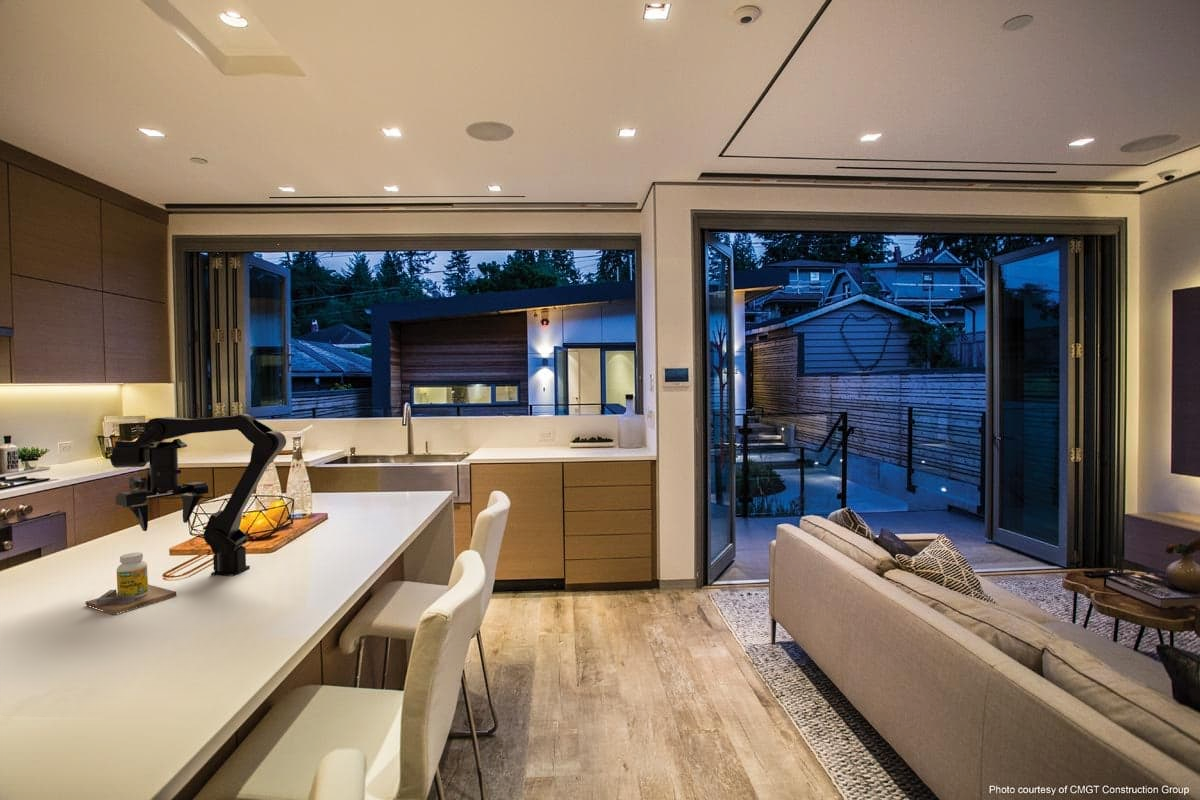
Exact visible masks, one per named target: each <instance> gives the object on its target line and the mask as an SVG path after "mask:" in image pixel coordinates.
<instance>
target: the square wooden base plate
mask: <svg viewBox="0 0 1200 800" xmlns="http://www.w3.org/2000/svg"><path fill="white" fill-rule="evenodd" d="M174 596H175V597H177V591H175V590H170V589H167V588H163V587H159V586H155V585H151V584H148V593H147V594H146V595H145V596H143V597H140V598H136V599H135V594H134V595H125V596H118V591H117V589H110V590H108V591H107V592H105V593H104V594H103V595H101V596H99V597H98V598H95V599H90V600H87V601H85V606H86V605H87V606H91V607H94V608H97V609H100V610H103V611H105V612H104V613H106V612H109V613H112V614H116V615H118V614H117V613H119V614H121V613H120V612H123V611H126V612H128V611H127V610H129V611H131V610H130V609H132V610H134V609H133V608H136V607H139V608H141V607H140V606H142V607H145V606H148V605H147V604H149V605H151V604H150V603H152V604H155V603H158V602H161V600H162V601H164V600H168V599H172V598H174ZM171 597H172V598H171ZM154 602H155V603H154ZM144 605H145V606H144ZM87 606H86V607H87ZM136 609H137V608H136ZM100 610H99V611H100ZM103 611H102V612H103ZM109 613H108V614H109ZM123 613H124V612H123ZM112 614H111V615H112Z"/></svg>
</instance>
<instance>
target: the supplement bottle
mask: <svg viewBox="0 0 1200 800" xmlns="http://www.w3.org/2000/svg"><path fill="white" fill-rule="evenodd" d="M143 558H144V554H143V552H140V551H139V552H130V553H126V554H125V553H124V554H123V555H120V557H119V562H120V563H121V564H120V565H119V566H117V568H116V585H117V586H116V587H117V588H116V592H117V593H118V596H125V595H134V594H135V599H136V598H140V597H143V596H145V595H146V594H147V593H148V585H149V579H148V578H149V577H148V563H147V562H145V561H143Z"/></svg>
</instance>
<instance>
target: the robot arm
mask: <svg viewBox="0 0 1200 800" xmlns="http://www.w3.org/2000/svg"><path fill="white" fill-rule="evenodd" d="M233 430H234V431H235V430H236V431H238V432H241V434H242V435H243V436H244V437H245V438H246V439H247V440H248V441H249V442H250V443H252V445H253V446H252V449H251V452H250V461H249V463H248V464H247V466H246V468H245V469H244V472H243V473H242V475H241V478H240V479H239V481H238V482H237V484H236V486H235V488H234V490H233V492H232V493H231V495H230V497H229V499H228V500H227V503H226V504H225V506H224V508H223V510H218V511H216V512H214V513H212V514H211V515H210V516H209V518H208V521H207V524H206V525H205V526H204V527H202V530H203V531H204V532H203V535H202V537H203V539H204V542H205V543H206V544H207V545H209V547H210V549H211V551H212V554H214V555H212V556H213V557H212V558H213V571H212V572H210V575H211V576H235V575H239V574H240V573H241V572H244V571H246V570H248V569H250V568H251V566H250V565H247V555H246V554H247V553H246V550H247V549H246V546H243V545H245V544H246V543H247V541H248V538H249V535H247V534H246V533H245V532H244V531H243V530H241V529H240V526H241V523H242V517H243V512H244V510H245V509H246V506H247V504H248V503H249V500H250V499H251V497H252V495H253V494H254V491H255V490H256V488H257V486H258V484H259V482H260V481H261V479H262V477H263V475H264V474H265V472H266V470H267V468H268V466H269V465H270V464H271V463H272V462H273V461H274V460H275V459H276V458H277V457H278V456H279V454H281V452H282V451H283V449H284V448H285V446H286V445H287V439H286V436H285V435H284V434H283V433H282V432H281V431H277V430H273V429H272V428H271V427H269V426H268V425H266V424H264V423H262V422H261V421H258V420H257V419H255V418H254V417H253V416H252V415H251V414H247V413H243V414H238V415H230V416H229V415H228V416H218V417H203V418H184V417H175V416H165V417H154V418H150V419H149V420H148V421H147V422H146V423H145V425H144V430H143V432H141V434H140V435H139V436H138V437H137V439H136V440H116V441H115V446H114V447H113V449H112V450H111V454H110V455H109V456H110V460H109V461H110V463H111V465H112V467H113V468H117V469H120V468H121V469H122V468H143V467H145V466H146V465H147V464H148V463H149V470H147V471H146V475H145V476H146V477H142V476H140V475H137V476H131V477H130V478H129V480H128V481H129V482H128V484H129V489H130V490H131V491H123V492H118V494H117V495H116V497H115V505H117V506H122V507H123V508H127V509H129V510H130V511H131V512H132V513H133V515H134V516H135V519H136V520H137V522H138V524H139V526H140V527H141V528H140V529H142V531H143V532H147V531H148V527H149V504H148V503H145V502H147V500H154V499H160V498H165V497H171V496H177V495H180V499H181V501H182V522H183V523H185V524H187V523H188V522H189V520H190V518H191V516H192V513H193V512H194V509H195V508H196V506H197V505H198V503H199V502H200V500H201V498H205V494H209V493H210V486H209V484H208V483H207V482H202V481H193V482H192V481H191V482H186V483H185V482H184V483H182V484H179V474H182V469H179V461H178V460H179V458H178V457H179V456H178V449H184V448H187V447H188V444H187V443H185V442H183V441H182V440H181V439H180V437H183V436H187V435H191V434H200V433H210V432H211V433H212V432H222V431H233ZM170 439H173V440H172V441H164V440H170ZM152 444H156V445H152Z"/></svg>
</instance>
